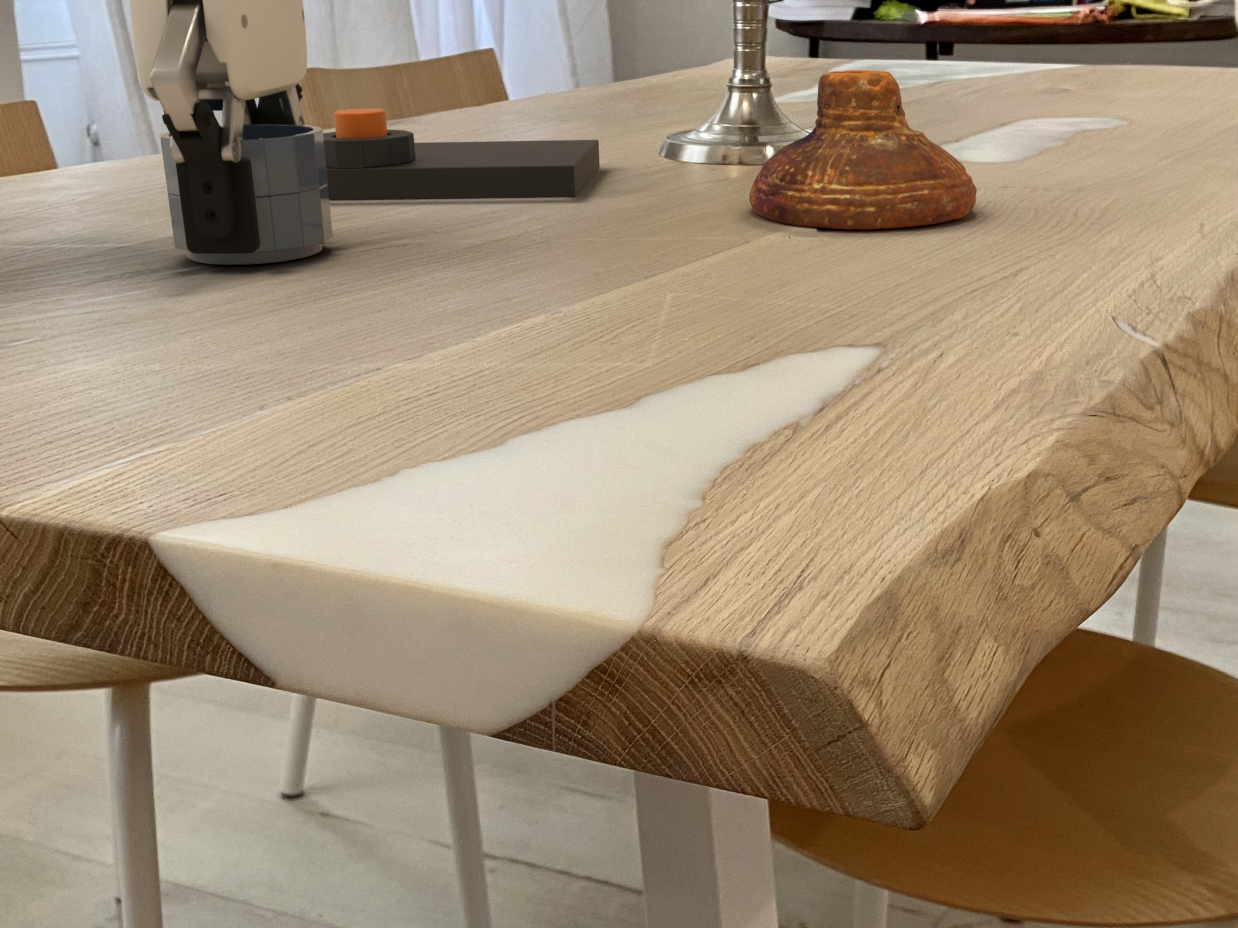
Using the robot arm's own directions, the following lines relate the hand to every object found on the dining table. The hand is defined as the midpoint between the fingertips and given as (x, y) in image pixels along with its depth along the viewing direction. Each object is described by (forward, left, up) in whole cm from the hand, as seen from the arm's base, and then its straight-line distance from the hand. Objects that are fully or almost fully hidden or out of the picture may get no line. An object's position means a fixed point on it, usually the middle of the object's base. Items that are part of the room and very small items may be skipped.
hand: (253, 233), depth 69 cm
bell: (+29, +10, -1) cm, 31 cm away
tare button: (0, +20, +2) cm, 20 cm away
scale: (+5, +23, -1) cm, 24 cm away
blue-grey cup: (0, 0, -1) cm, 1 cm away
